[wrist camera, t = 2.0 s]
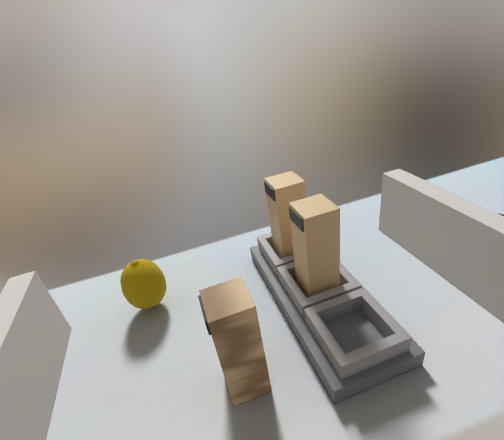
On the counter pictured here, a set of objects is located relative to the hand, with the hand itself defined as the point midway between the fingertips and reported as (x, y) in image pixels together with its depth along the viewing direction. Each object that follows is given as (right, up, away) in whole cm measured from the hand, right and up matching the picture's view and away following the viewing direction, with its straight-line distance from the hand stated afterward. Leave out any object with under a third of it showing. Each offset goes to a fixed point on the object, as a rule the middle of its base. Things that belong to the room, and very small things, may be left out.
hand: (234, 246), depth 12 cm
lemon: (-13, -11, +33) cm, 37 cm away
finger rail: (+9, -9, +29) cm, 32 cm away
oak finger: (0, -16, +21) cm, 26 cm away
